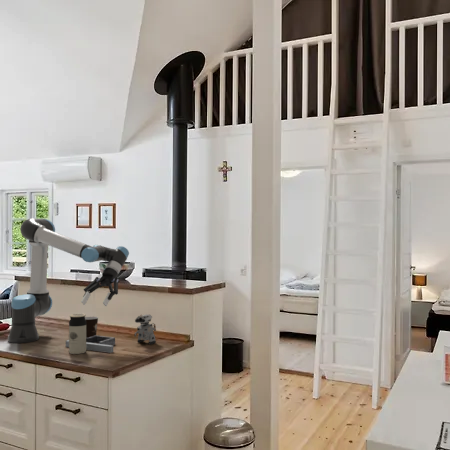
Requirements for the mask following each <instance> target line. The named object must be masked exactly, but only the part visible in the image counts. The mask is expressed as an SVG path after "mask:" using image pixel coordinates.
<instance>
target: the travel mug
mask: <svg viewBox="0 0 450 450" xmlns="http://www.w3.org/2000/svg"><path fill="white" fill-rule="evenodd" d="M85 317H87V316H86V313H72V314H69V321H68V340H69V347H68V353H69V354H72V355H80V354H84V353H86V352H87V350H86V338H87V337H86V320H85Z"/></svg>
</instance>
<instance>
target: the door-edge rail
mask: <svg viewBox="0 0 450 450" xmlns="http://www.w3.org/2000/svg"><path fill="white" fill-rule="evenodd" d="M65 347H66V348H69V339H67V340H65ZM87 350H88V351H95V352H101V353H109V354H112V353H114V345H104V344H99V343H88V342H86V351H87Z"/></svg>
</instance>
